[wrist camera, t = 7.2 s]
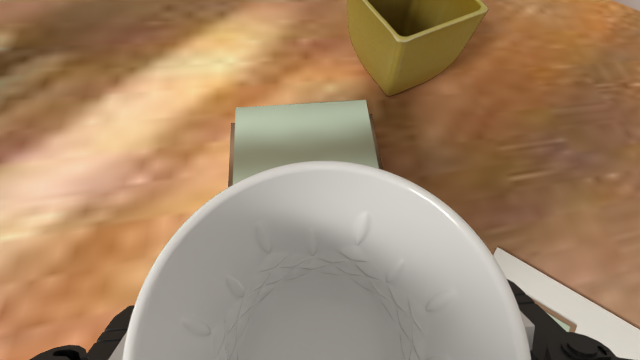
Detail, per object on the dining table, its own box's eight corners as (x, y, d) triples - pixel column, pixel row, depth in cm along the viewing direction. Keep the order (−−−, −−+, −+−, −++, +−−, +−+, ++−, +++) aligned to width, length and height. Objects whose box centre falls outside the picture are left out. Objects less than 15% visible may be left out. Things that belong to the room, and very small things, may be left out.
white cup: (190, 359, 16) (42, 325, 7) (320, 238, 19) (327, 108, 10) (318, 532, 13) (329, 817, 4) (447, 361, 16) (609, 331, 7)
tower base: (390, 260, 28) (406, 231, 23) (233, 273, 28) (213, 246, 23) (367, 135, 34) (376, 89, 29) (238, 143, 34) (223, 98, 28)
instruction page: (446, 351, 25) (447, 350, 25) (496, 248, 29) (498, 246, 28) (631, 480, 22) (636, 481, 21) (662, 344, 25) (666, 343, 25)
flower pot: (456, 87, 37) (492, 7, 29) (383, 119, 35) (401, 41, 27) (407, 35, 41) (427, -48, 33) (338, 61, 39) (343, -22, 31)
